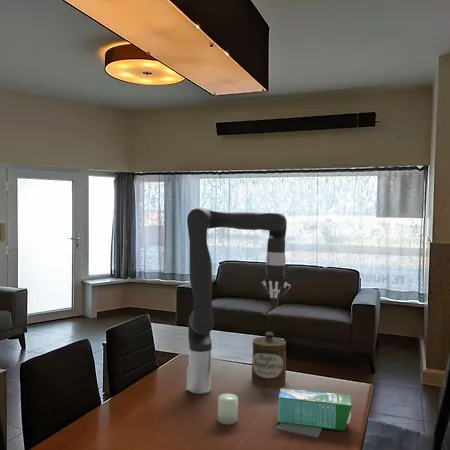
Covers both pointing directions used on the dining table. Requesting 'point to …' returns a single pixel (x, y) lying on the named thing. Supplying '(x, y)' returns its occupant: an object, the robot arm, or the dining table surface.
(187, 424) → the dining table surface
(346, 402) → the milk carton
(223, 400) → the pale green rounded cylinder
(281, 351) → the wooden container
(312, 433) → the display mat
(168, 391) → the dining table surface
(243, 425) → the dining table surface
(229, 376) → the dining table surface
